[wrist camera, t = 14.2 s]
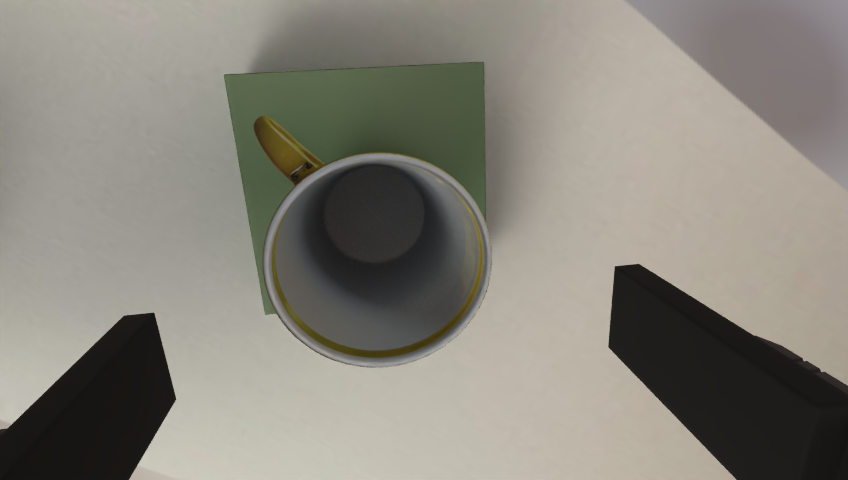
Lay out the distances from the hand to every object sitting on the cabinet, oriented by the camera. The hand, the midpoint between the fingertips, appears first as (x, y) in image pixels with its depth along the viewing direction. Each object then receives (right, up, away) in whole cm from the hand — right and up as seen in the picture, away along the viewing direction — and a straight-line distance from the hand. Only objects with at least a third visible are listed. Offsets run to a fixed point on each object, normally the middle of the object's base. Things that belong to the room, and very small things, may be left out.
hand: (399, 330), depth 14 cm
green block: (-3, +7, +21) cm, 22 cm away
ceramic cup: (-3, +6, +16) cm, 17 cm away
